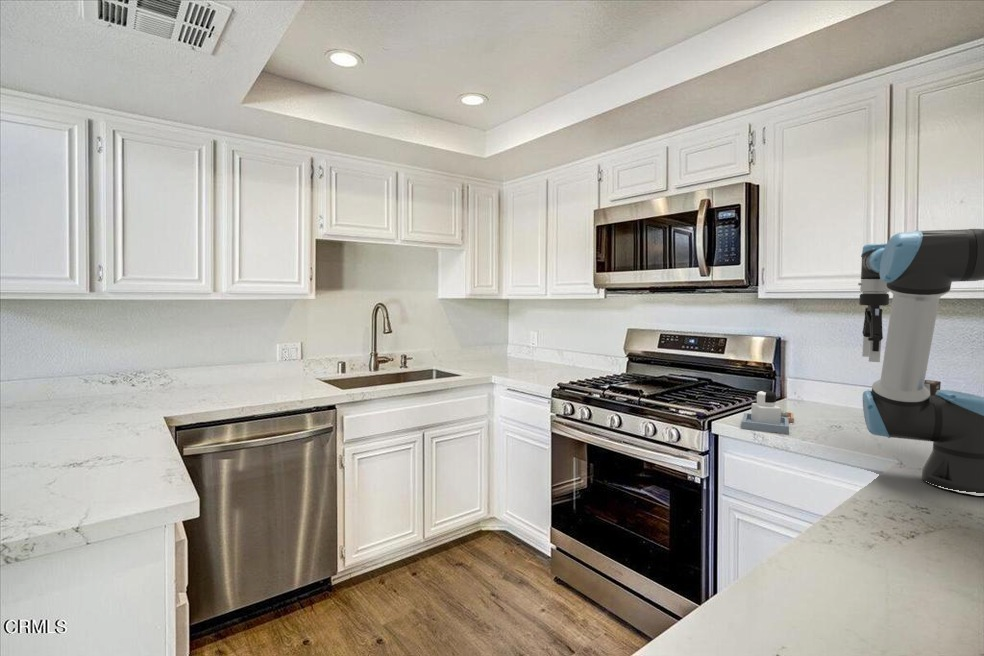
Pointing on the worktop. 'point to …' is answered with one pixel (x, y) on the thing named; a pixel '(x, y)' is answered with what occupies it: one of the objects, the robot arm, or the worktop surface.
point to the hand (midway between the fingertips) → (870, 359)
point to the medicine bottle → (766, 409)
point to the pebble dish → (790, 417)
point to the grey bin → (765, 425)
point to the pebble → (784, 414)
